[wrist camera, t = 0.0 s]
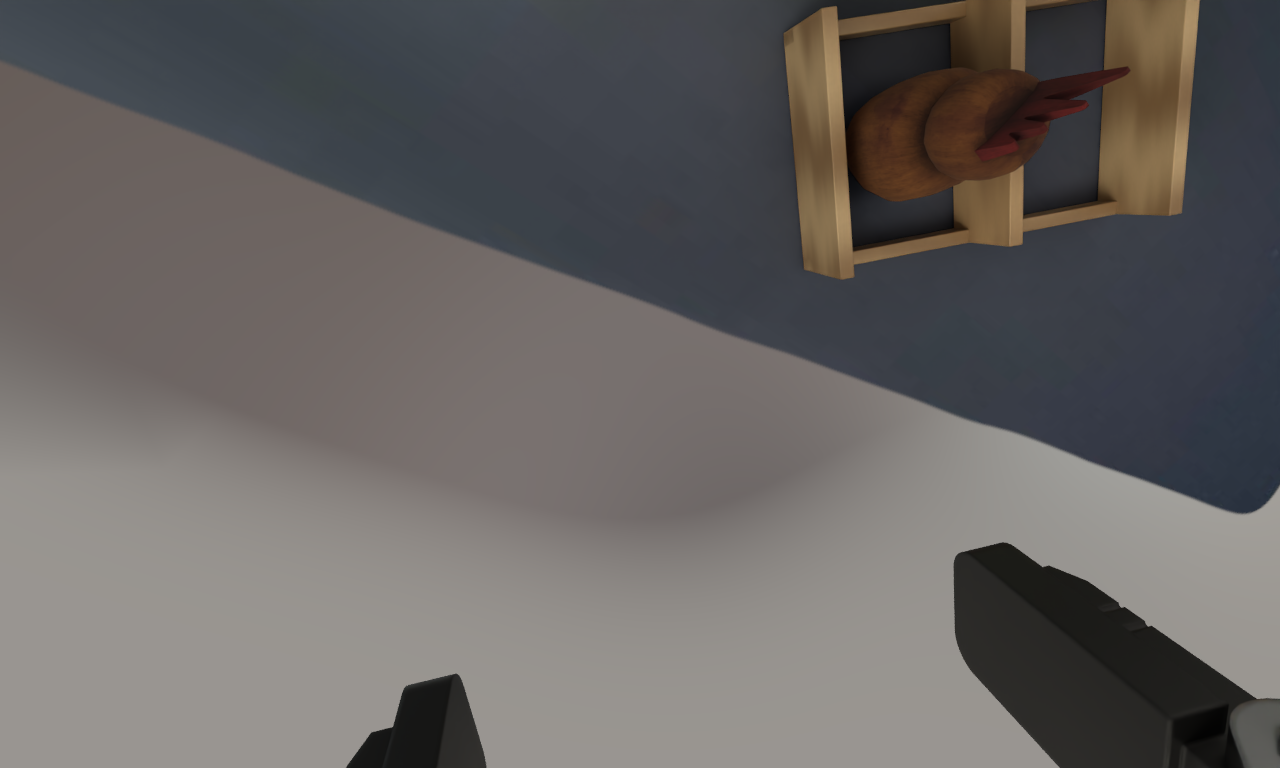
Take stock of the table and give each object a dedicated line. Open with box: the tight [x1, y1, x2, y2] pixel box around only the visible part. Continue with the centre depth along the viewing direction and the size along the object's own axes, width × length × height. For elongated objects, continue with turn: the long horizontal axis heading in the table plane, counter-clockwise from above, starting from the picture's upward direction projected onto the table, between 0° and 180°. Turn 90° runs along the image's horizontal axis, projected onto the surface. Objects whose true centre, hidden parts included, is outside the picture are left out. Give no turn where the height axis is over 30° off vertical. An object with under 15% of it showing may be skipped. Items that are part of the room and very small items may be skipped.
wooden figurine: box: [845, 66, 1131, 201], centre depth 31 cm, size 7×6×15 cm
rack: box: [784, 0, 1200, 280], centre depth 36 cm, size 13×20×5 cm, turn 99°
